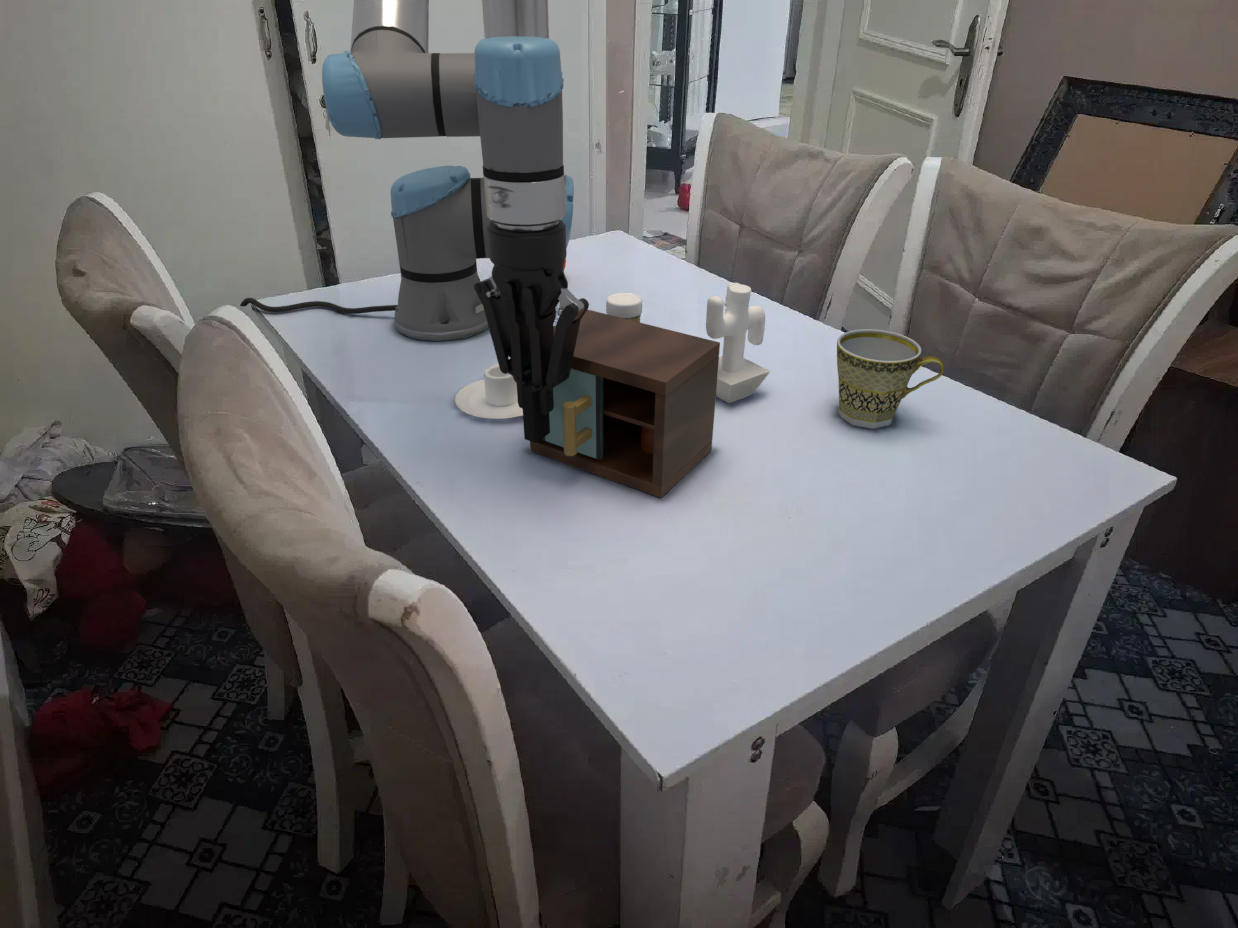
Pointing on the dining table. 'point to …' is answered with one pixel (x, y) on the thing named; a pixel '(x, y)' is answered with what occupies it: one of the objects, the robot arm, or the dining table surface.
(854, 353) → the ceramic cup
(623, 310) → the sprinkles bottle
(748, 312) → the figurine
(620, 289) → the dining table surface
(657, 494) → the cabinet
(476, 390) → the candle holder
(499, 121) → the robot arm
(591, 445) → the glass door
